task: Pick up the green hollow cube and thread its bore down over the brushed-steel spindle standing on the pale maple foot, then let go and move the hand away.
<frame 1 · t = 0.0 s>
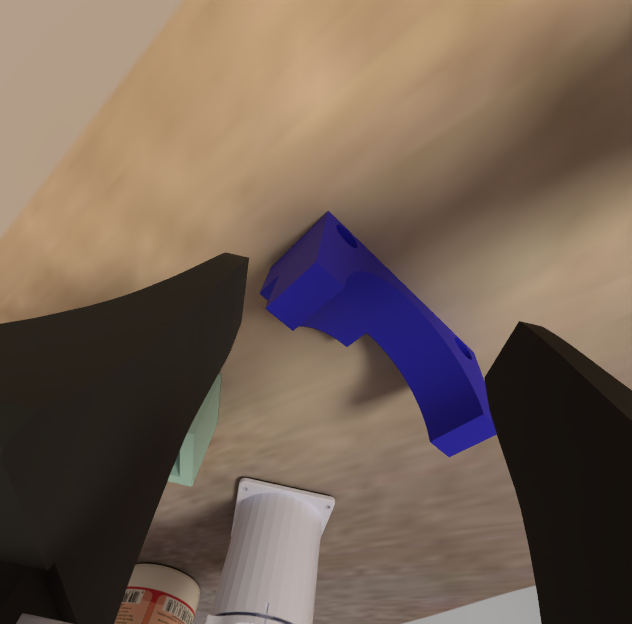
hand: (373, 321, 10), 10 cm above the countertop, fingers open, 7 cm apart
green hollow cube: (182, 392, 27), on the countertop
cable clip: (376, 308, 22), on the countertop
fruit juice: (163, 579, 45), on the countertop
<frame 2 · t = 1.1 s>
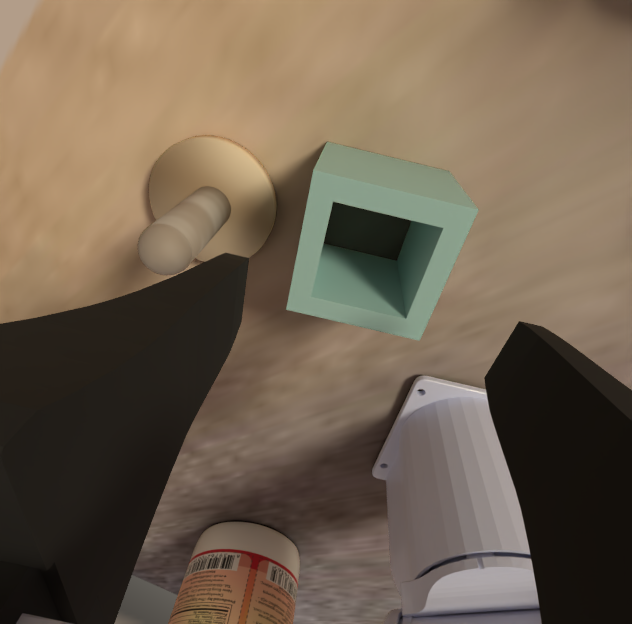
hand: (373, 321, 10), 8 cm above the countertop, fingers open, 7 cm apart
spindle: (216, 201, 18), on the countertop
green hollow cube: (370, 216, 17), on the countertop
fruit juice: (250, 544, 35), on the countertop
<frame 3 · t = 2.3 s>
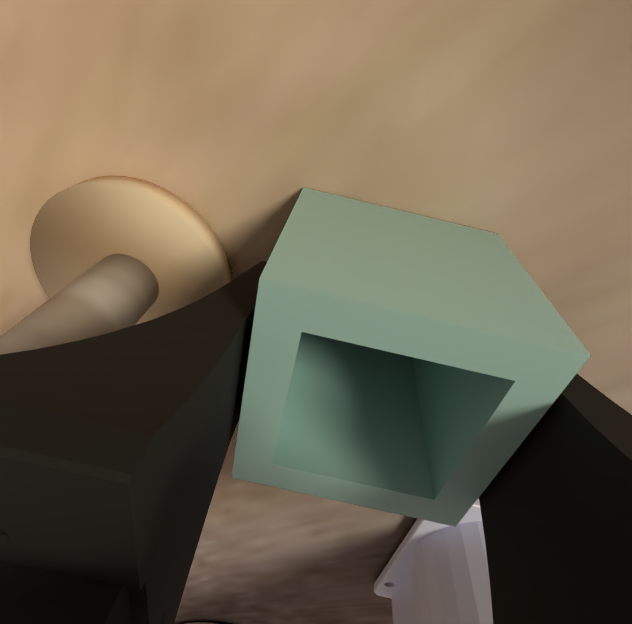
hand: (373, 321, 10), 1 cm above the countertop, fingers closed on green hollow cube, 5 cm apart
spindle: (141, 269, 12), on the countertop
green hollow cube: (372, 294, 11), on the countertop, touching gripper
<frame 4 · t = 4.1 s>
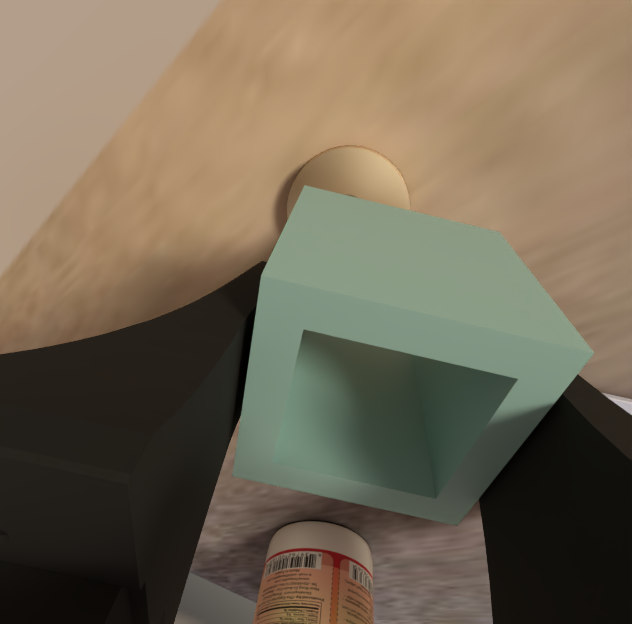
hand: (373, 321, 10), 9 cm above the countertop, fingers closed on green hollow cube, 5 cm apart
spindle: (348, 208, 18), on the countertop
green hollow cube: (374, 292, 11), point 8 cm above the countertop, touching gripper
fruit juice: (320, 544, 36), on the countertop
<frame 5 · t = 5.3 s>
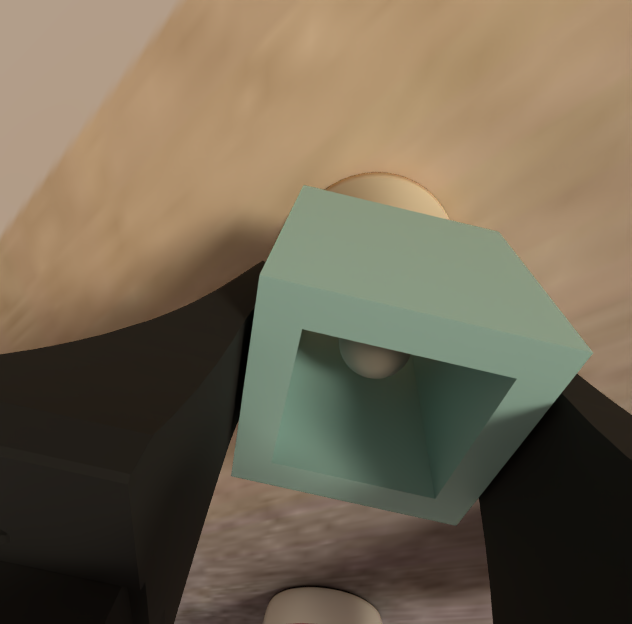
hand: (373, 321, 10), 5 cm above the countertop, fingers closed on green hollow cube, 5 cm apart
spindle: (372, 252, 14), on the countertop
green hollow cube: (373, 292, 11), point 3 cm above the countertop, touching gripper
fruit juice: (324, 607, 31), on the countertop
when the fingers open (3 cm above the countertop, at t = 6.2 s): green hollow cube stays where it is, resting on spindle.
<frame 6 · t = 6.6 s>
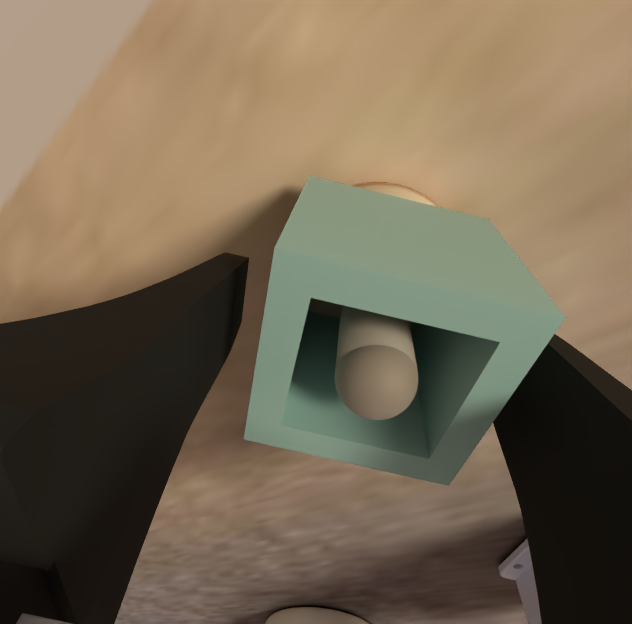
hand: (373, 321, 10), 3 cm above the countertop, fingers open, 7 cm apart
spindle: (372, 267, 13), on the countertop
green hollow cube: (373, 277, 12), point 1 cm above the countertop, touching spindle
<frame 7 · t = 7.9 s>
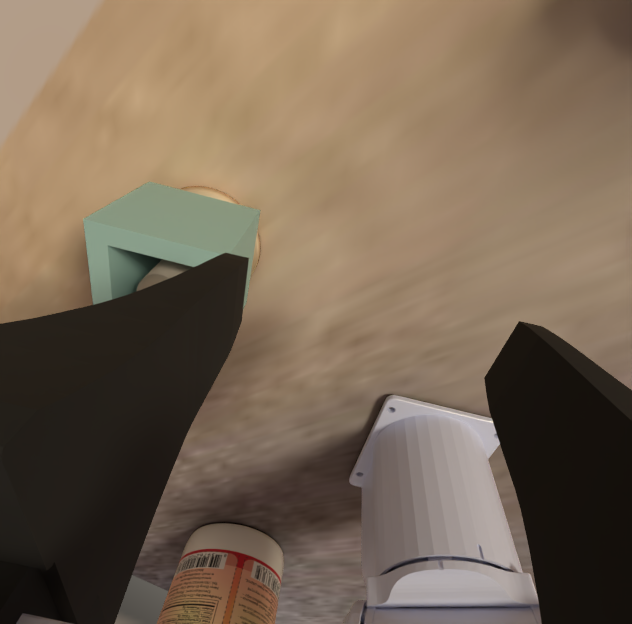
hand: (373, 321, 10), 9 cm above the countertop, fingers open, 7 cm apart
spindle: (206, 241, 20), on the countertop
green hollow cube: (201, 246, 19), point 1 cm above the countertop, touching spindle
fruit juice: (237, 544, 37), on the countertop
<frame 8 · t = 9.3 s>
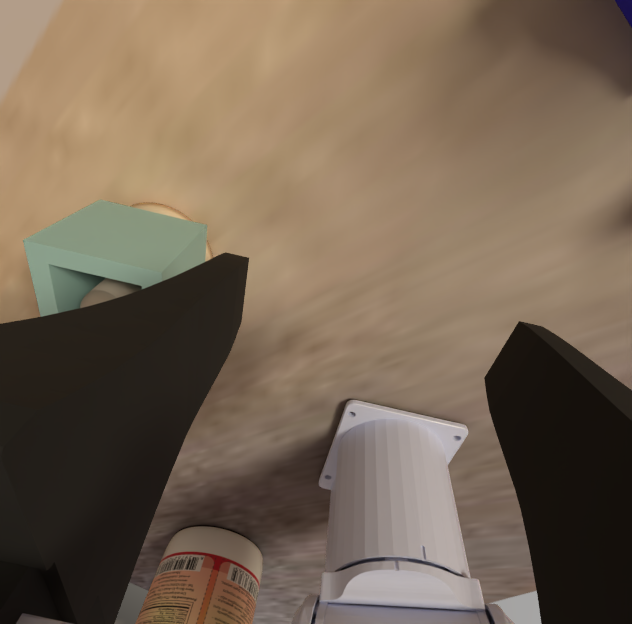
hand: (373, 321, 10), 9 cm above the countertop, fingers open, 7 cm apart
spindle: (161, 254, 21), on the countertop
green hollow cube: (155, 260, 20), point 1 cm above the countertop, touching spindle
fruit juice: (218, 547, 38), on the countertop
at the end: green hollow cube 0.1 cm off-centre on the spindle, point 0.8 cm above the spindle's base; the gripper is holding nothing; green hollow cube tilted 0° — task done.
